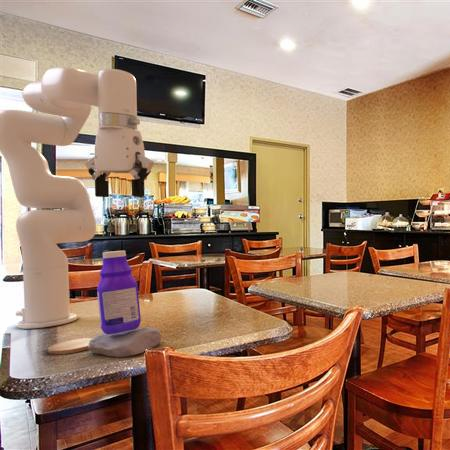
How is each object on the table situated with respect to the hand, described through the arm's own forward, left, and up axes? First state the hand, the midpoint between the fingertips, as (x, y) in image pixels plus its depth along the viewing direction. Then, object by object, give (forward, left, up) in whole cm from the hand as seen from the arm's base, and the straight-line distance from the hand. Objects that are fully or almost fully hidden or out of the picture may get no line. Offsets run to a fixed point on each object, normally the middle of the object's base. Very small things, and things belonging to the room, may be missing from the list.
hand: (120, 196), depth 97 cm
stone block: (+7, -9, -34) cm, 36 cm away
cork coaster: (-6, -8, -34) cm, 35 cm away
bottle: (+7, -9, -30) cm, 32 cm away
